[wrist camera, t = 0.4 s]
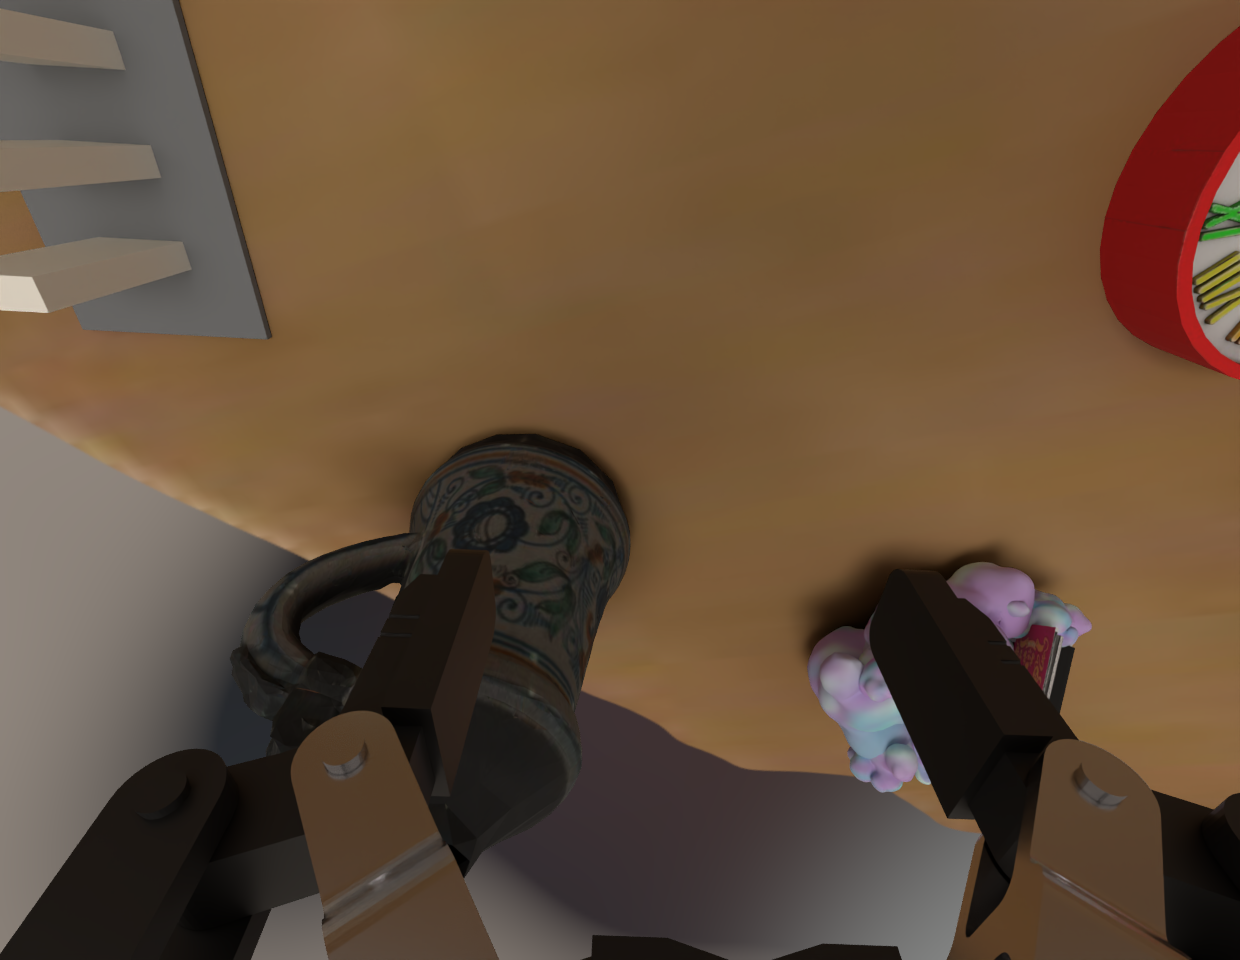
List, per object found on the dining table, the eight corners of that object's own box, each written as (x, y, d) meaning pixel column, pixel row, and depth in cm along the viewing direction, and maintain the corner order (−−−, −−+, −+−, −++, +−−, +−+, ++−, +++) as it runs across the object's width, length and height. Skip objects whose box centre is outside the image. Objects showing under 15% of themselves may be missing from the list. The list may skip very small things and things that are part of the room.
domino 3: (98, 237, 34) (-81, 270, 25) (182, 241, 34) (32, 277, 25) (109, 264, 35) (-60, 306, 26) (191, 269, 35) (48, 312, 26)
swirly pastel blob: (768, 596, 43) (858, 878, 34) (1090, 502, 37) (1297, 816, 28) (803, 636, 59) (868, 831, 51) (1026, 576, 54) (1143, 786, 45)
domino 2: (59, 139, 31) (-155, 141, 23) (150, 145, 31) (-30, 148, 23) (72, 172, 32) (-130, 185, 24) (161, 177, 32) (-9, 192, 24)
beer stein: (629, 597, 49) (629, 952, 28) (408, 595, 49) (239, 944, 28) (631, 426, 40) (633, 750, 19) (363, 425, 41) (70, 742, 19)
